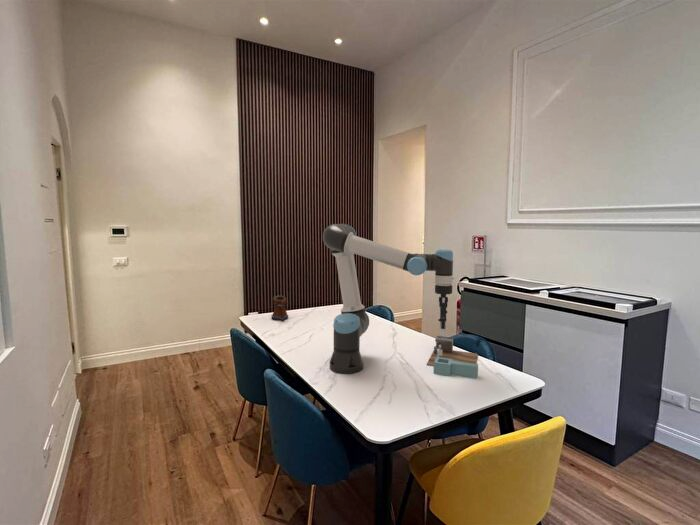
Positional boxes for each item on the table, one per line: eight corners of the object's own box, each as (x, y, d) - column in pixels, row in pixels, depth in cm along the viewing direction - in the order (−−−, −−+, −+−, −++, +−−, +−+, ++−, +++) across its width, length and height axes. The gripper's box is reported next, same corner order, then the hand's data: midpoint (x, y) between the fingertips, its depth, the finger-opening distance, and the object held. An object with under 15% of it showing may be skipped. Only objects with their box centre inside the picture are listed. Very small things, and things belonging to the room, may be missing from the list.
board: (474, 372, 168) (474, 370, 168) (426, 365, 175) (426, 363, 175) (477, 354, 190) (477, 353, 190) (434, 349, 198) (435, 348, 198)
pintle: (441, 364, 177) (442, 346, 176) (436, 363, 178) (436, 345, 177) (442, 362, 179) (442, 344, 178) (437, 361, 180) (437, 344, 179)
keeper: (450, 356, 186) (451, 342, 185) (433, 353, 189) (434, 340, 188) (452, 350, 194) (453, 337, 193) (436, 348, 197) (436, 335, 196)
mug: (293, 322, 247) (292, 299, 245) (275, 323, 242) (275, 300, 241) (286, 315, 263) (286, 294, 262) (269, 317, 259) (269, 295, 257)
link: (433, 373, 166) (433, 362, 165) (436, 367, 172) (436, 357, 172) (477, 380, 159) (477, 368, 159) (477, 373, 166) (478, 362, 165)
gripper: (453, 289, 156) (452, 340, 158) (451, 280, 180) (450, 324, 182) (434, 289, 158) (433, 339, 160) (435, 280, 182) (434, 323, 184)
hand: (442, 331), depth 171 cm, fingers open, 13 cm apart
